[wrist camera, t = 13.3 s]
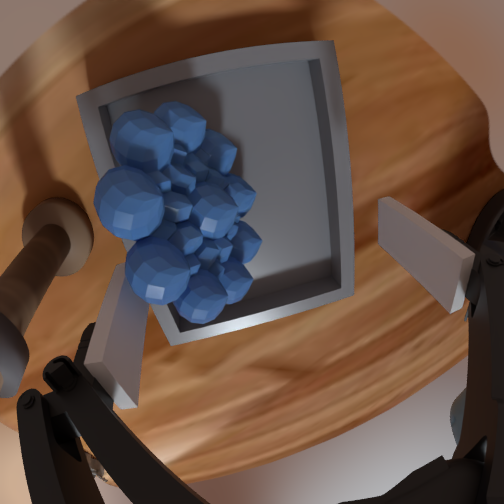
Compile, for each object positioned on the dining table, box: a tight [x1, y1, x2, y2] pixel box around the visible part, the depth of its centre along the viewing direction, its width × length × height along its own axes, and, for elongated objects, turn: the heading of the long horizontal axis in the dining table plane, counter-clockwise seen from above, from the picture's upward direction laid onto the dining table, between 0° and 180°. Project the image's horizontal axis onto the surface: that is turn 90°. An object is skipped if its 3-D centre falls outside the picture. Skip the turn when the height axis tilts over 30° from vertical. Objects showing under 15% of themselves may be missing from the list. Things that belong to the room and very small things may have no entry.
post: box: [0, 198, 94, 398], centre depth 14 cm, size 6×6×16 cm
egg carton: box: [85, 452, 107, 482], centre depth 36 cm, size 11×8×4 cm
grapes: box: [94, 101, 263, 324], centre depth 16 cm, size 12×7×12 cm
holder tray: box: [76, 40, 354, 346], centre depth 21 cm, size 16×20×3 cm
